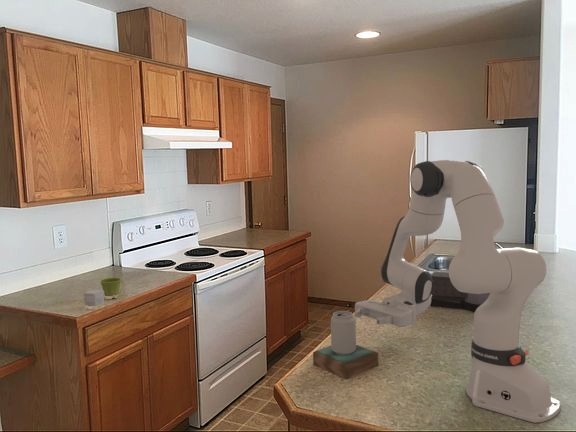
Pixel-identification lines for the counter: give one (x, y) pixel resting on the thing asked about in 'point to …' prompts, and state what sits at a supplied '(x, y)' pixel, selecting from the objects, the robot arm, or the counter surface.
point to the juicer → (453, 295)
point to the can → (343, 333)
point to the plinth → (345, 361)
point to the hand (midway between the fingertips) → (366, 318)
